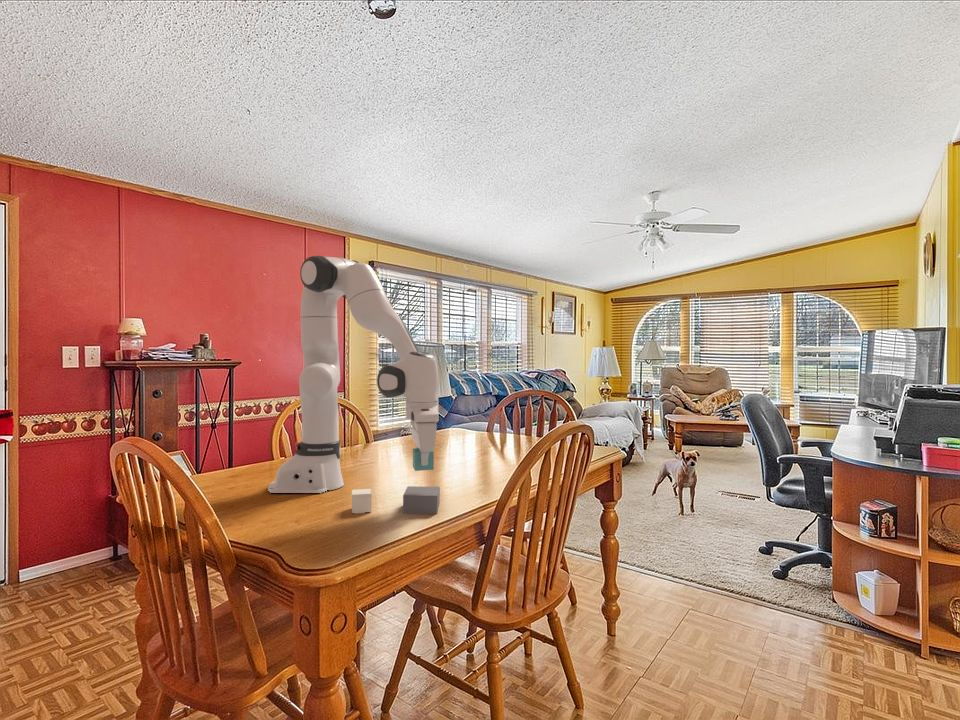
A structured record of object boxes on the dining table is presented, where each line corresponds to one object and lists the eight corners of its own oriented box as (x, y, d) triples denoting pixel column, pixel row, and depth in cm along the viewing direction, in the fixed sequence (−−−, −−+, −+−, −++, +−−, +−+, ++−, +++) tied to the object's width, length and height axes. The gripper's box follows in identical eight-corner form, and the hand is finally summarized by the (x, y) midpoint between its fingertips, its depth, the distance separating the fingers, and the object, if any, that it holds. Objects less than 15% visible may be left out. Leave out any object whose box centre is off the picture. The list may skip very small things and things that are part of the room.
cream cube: (351, 513, 140) (351, 494, 140) (352, 507, 145) (352, 489, 145) (371, 512, 141) (371, 493, 141) (370, 506, 146) (370, 488, 146)
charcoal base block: (403, 514, 140) (403, 495, 140) (407, 504, 149) (407, 486, 149) (437, 514, 141) (437, 495, 140) (439, 504, 150) (439, 486, 149)
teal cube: (415, 470, 142) (414, 452, 142) (412, 466, 147) (412, 448, 146) (433, 469, 143) (433, 451, 143) (430, 465, 148) (430, 447, 148)
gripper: (406, 407, 154) (407, 455, 154) (415, 416, 134) (415, 471, 134) (428, 406, 155) (428, 454, 155) (439, 416, 135) (440, 470, 136)
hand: (422, 462), depth 145 cm, fingers closed on teal cube, 5 cm apart
